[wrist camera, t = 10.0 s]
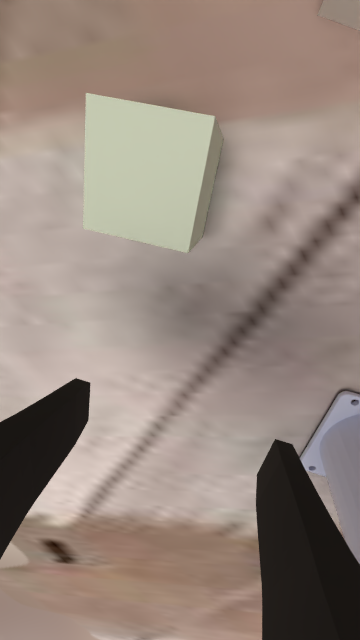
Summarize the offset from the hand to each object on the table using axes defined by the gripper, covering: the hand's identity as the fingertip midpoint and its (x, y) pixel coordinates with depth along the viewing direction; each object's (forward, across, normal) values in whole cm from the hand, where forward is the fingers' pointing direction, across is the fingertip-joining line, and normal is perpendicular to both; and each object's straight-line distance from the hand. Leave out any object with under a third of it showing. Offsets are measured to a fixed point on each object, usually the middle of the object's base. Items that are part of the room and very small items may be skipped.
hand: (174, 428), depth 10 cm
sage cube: (+10, +4, -8) cm, 13 cm away
